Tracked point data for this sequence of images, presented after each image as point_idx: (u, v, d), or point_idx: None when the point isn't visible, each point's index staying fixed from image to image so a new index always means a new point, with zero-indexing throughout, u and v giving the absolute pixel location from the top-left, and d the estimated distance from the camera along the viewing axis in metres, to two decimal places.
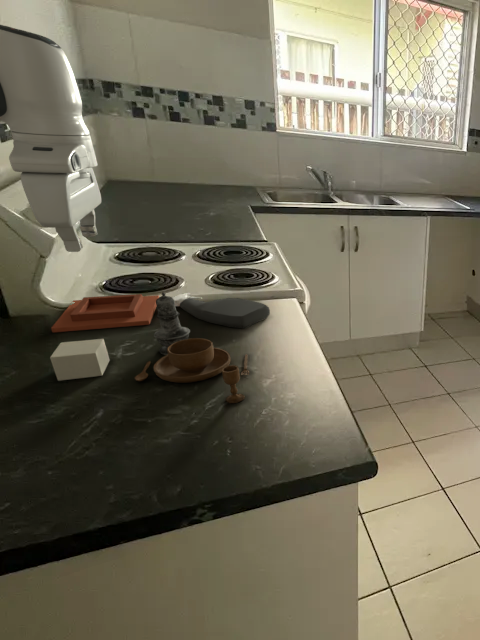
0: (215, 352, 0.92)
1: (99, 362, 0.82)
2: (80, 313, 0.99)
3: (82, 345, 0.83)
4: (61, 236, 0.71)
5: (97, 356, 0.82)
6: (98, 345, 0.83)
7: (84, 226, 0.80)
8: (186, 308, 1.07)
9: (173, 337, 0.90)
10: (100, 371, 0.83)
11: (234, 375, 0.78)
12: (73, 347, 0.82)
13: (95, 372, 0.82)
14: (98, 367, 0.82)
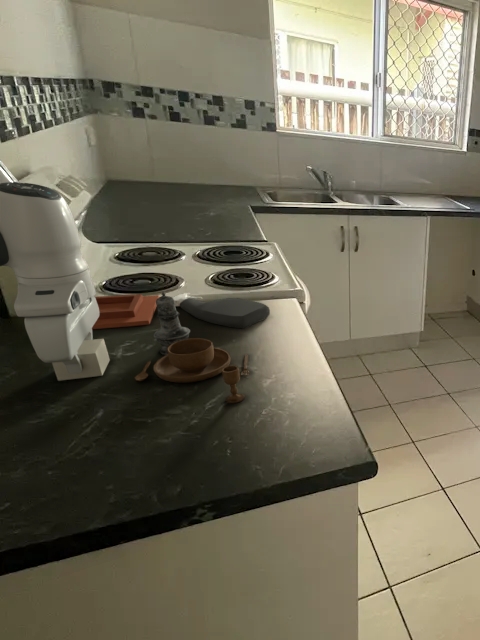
0: (215, 352, 0.92)
1: (99, 362, 0.82)
2: None
3: (82, 345, 0.83)
4: (64, 361, 0.78)
5: (97, 356, 0.82)
6: (98, 345, 0.83)
7: None
8: (186, 308, 1.07)
9: (173, 337, 0.90)
10: (100, 371, 0.83)
11: (234, 375, 0.78)
12: None
13: (95, 372, 0.82)
14: (98, 367, 0.82)
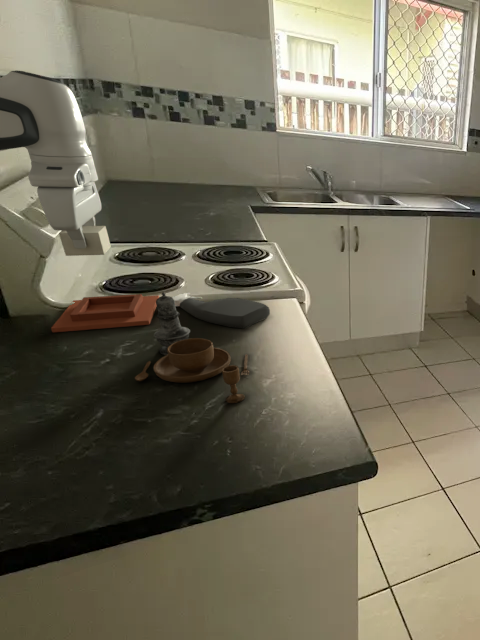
0: (215, 352, 0.92)
1: (101, 242, 0.94)
2: (80, 313, 0.99)
3: (87, 228, 0.95)
4: (70, 236, 0.90)
5: (100, 236, 0.94)
6: (101, 228, 0.95)
7: None
8: (186, 308, 1.07)
9: (173, 337, 0.90)
10: (102, 250, 0.94)
11: (234, 375, 0.78)
12: None
13: (98, 251, 0.94)
14: (101, 246, 0.94)
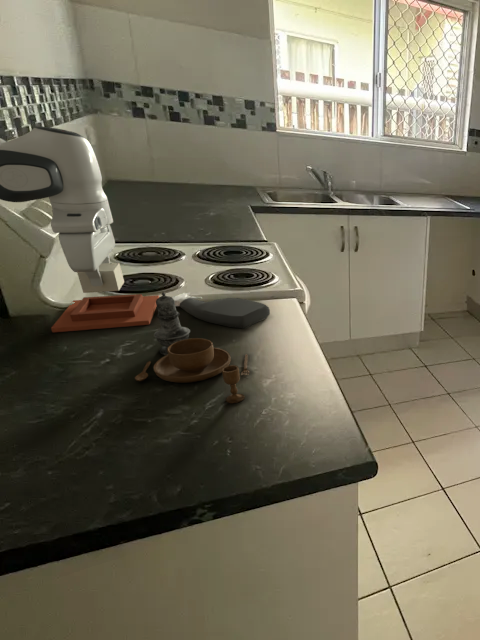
0: (215, 352, 0.92)
1: (116, 279, 1.01)
2: (80, 313, 0.99)
3: (102, 266, 1.01)
4: (88, 275, 0.96)
5: (115, 274, 1.00)
6: (115, 266, 1.02)
7: None
8: (186, 308, 1.07)
9: (173, 337, 0.90)
10: (117, 287, 1.01)
11: (234, 375, 0.78)
12: None
13: (113, 287, 1.01)
14: (116, 283, 1.01)
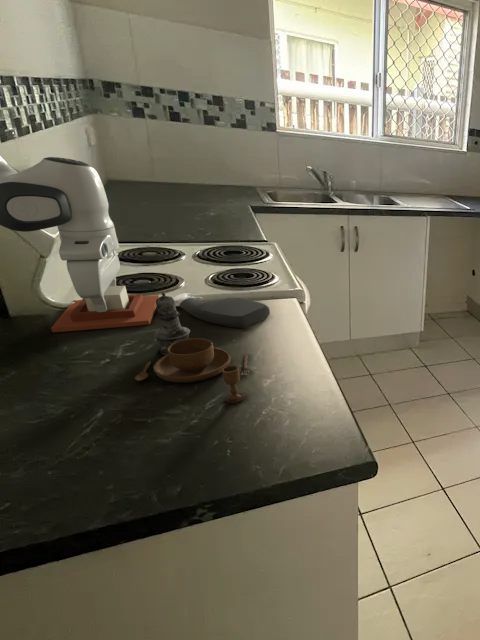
0: (215, 352, 0.92)
1: (122, 302, 1.03)
2: (80, 313, 0.99)
3: (108, 289, 1.04)
4: (93, 302, 0.98)
5: (121, 297, 1.02)
6: (121, 289, 1.04)
7: None
8: (186, 308, 1.07)
9: (173, 337, 0.90)
10: None
11: (234, 375, 0.78)
12: None
13: None
14: (122, 306, 1.03)
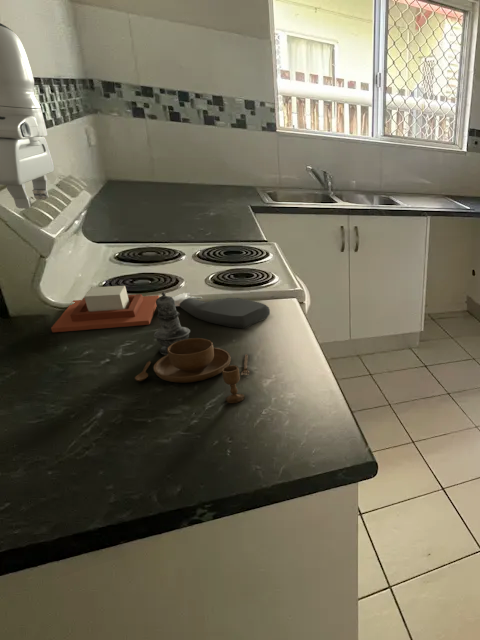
0: (215, 352, 0.92)
1: (122, 302, 1.03)
2: (80, 313, 0.99)
3: (108, 289, 1.04)
4: (12, 194, 0.83)
5: (121, 297, 1.02)
6: (121, 289, 1.04)
7: (36, 189, 0.92)
8: (186, 308, 1.07)
9: (173, 337, 0.90)
10: None
11: (234, 375, 0.78)
12: (101, 290, 1.03)
13: None
14: (122, 306, 1.03)
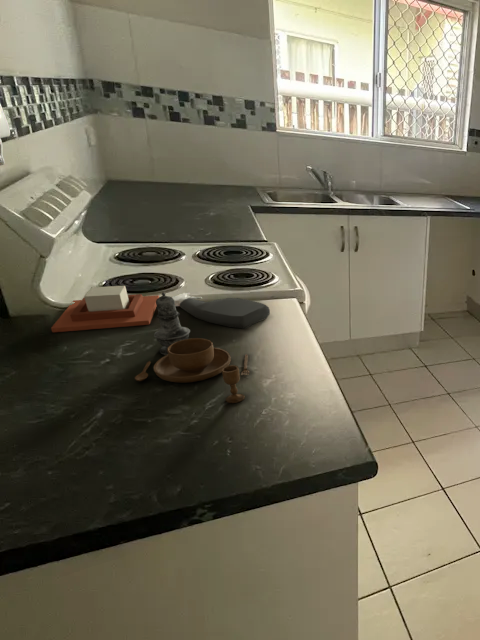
0: (215, 352, 0.92)
1: (122, 302, 1.03)
2: (80, 313, 0.99)
3: (108, 289, 1.04)
4: None
5: (121, 297, 1.02)
6: (121, 289, 1.04)
7: None
8: (186, 308, 1.07)
9: (173, 337, 0.90)
10: None
11: (234, 375, 0.78)
12: (101, 290, 1.03)
13: None
14: (122, 306, 1.03)
